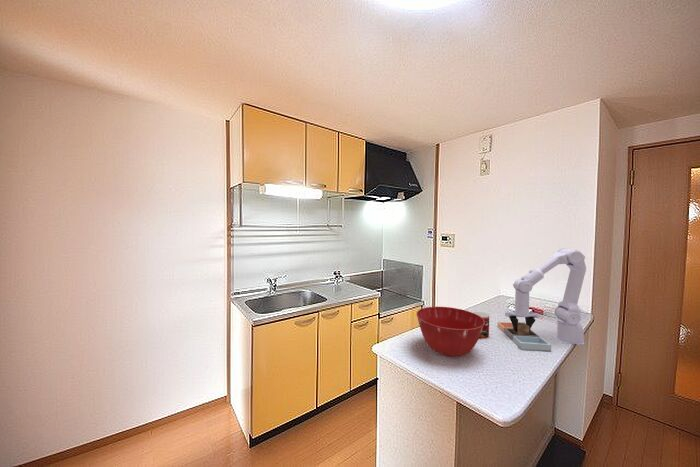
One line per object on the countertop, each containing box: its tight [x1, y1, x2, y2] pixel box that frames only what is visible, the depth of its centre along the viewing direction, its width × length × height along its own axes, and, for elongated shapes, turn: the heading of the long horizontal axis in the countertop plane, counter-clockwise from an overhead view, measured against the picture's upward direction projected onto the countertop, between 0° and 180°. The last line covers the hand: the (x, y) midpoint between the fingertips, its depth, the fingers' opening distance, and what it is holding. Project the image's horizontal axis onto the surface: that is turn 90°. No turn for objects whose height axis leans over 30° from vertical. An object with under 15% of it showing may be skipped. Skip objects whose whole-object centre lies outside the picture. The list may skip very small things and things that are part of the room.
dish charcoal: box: [504, 328, 541, 341], centre depth 131 cm, size 12×8×3 cm
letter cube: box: [513, 321, 529, 335], centre depth 131 cm, size 5×5×5 cm
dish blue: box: [512, 336, 552, 352], centre depth 122 cm, size 12×8×3 cm
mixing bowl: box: [416, 306, 485, 358], centre depth 118 cm, size 28×28×16 cm
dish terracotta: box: [497, 321, 513, 334], centre depth 139 cm, size 12×8×3 cm
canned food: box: [473, 311, 490, 340], centre depth 133 cm, size 8×8×11 cm
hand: (521, 331), depth 130 cm, fingers closed on letter cube, 5 cm apart
